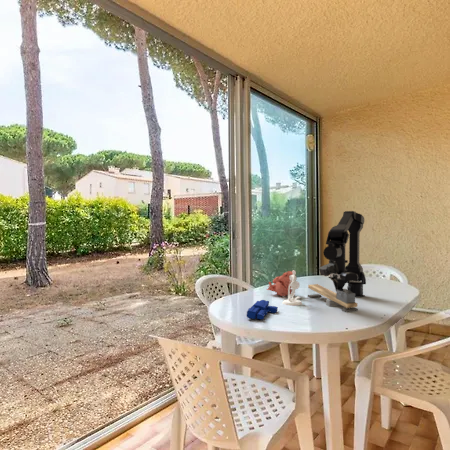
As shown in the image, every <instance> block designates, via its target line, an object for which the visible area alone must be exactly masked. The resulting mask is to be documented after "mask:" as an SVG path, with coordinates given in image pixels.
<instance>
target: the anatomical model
mask: <svg viewBox="0 0 450 450" xmlns="http://www.w3.org/2000/svg"><path fill="white" fill-rule="evenodd" d="M292 272H293V271H291V270H288V271H286V272H283V273H282V275H279V276H276V277H275V278H274V279H272V281H268V286H267V287H268V288H266V290H267V291H271V292H274V293H275V294H276V296H281V297H288V288H289V285H290V284H291V282H292V281H291V280H290V277H289V276H290V275H293V273H292ZM295 276H296V274H295ZM296 277H297V276H296ZM272 283H273V284H272ZM291 293H292V289H291V286H290V294H291Z"/></svg>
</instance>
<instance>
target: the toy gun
mask: <svg viewBox="0 0 450 450" xmlns="http://www.w3.org/2000/svg"><path fill="white" fill-rule="evenodd" d="M269 303H270V301H269V300H265V299H261V300H257V301H256V302H255V303H254V304H253V305H252V306H250V307H249V308H248V310H247V311H246V317H247V318H248V319H253V320H255V319H257V320H264V318H265V316H267V315H268V313H271V314H277V312H278V306H274V305H270V304H269Z"/></svg>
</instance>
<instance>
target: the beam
mask: <svg viewBox="0 0 450 450" xmlns="http://www.w3.org/2000/svg"><path fill="white" fill-rule="evenodd" d="M307 286H308V289H309V290H312V291H313V292H315V293H316V294H320V295H321V296H323V297H325V298H326V299H331V300H332V301H334V302H336V303H338V304H340V305H339V306H343V307H344V308H352V307H355V308H358V302H356V301H355V303H348V304H346V303H344V302H342V301H340V300H338V299H336V294H337V292H336V291H332V290H330V289H329V288H326V287H324V286H322V285H320V284H318V283H317V284H316V283H315V284H314V283H313V284H308V285H307Z"/></svg>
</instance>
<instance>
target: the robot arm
mask: <svg viewBox="0 0 450 450" xmlns="http://www.w3.org/2000/svg"><path fill="white" fill-rule="evenodd" d="M364 224H365V216H364V215H363V214H362V213H358V212H356V211H354V210H346V211H343V213H342V217H341V219H340V220H339V221H338V223H337V225H334V226H333V227H331V228H330V230H329V231H328V233H327V236H326V237H327V238H326V242H325V244H326V245H327V246H325V248H324V249H323V253H322V254H323V257H325V259H327V260H328V263H327V264H324V265H322V266H320V267H319V268H318V270H319V273H320V276H324V277H327V276H328V277H327V278H328V279H330V280H331V281H332V283H333V285H334V289H335V293H337V289H344V287H345V285H346V284H347V288H346V289H347V290H349V291H351V292H354V293H355V298H361V297H366V294H364V285H366V284H367V280H366V275H365V273H364V269H363V266H362V265H361V263H360V232H361V231H362V230H363V228H364ZM348 241H349V242H348ZM347 243H348V244H349V245H348V246H349V248H348V249H349V251H348V254H349V255H348V259H349V260H347V259H346V246H347V245H346V244H347ZM347 263H348V264H347ZM346 264H347V265H346Z"/></svg>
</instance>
